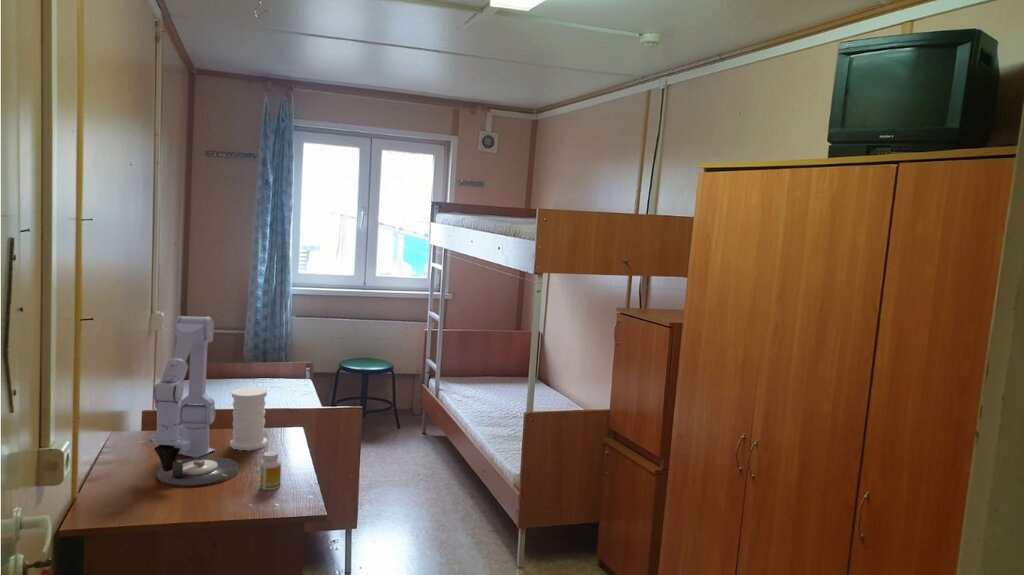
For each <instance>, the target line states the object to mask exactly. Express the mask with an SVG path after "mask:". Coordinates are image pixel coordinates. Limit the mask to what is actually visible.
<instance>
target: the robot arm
mask: <svg viewBox="0 0 1024 575" xmlns="http://www.w3.org/2000/svg"><path fill="white" fill-rule="evenodd" d="M214 328H215V323H214V320H213V319H212V317H211V316H189V315H188V316H186V315H179V316H177V318H176V320H175V323H174V331H175V332H174V333H175V336H176V338H177V341H176V345H175V348H174V353H173V356H172V358H171V359H169V360H168V361H167V362H166V365H165V368H164V370H163V373H162V376H161V379H160V382H158V383H156V384H155V385H154V388H153V393H152V399H153V402H154V407H155V409H156V434H155V433H151V434H148V435H147V438H146V439H147V440H146V441H147V443H153V445H156V446H155V447H154V451H155V452H156V454H157V456H158V458H159V460H160V463H161V468H162V467H163V470H164V471H170V470H173V461H174V460H177V457H178V455H182V456H187V457H189V458H194V457H203V456H205V455H207V454H211V453H213V452H215V451H216V449H215V448H212V447H210V425H212V423H214V421H215V418H216V407H215V399H213V397H210V396H209V395H208V394H206V385H207V384H206V383H207V364H208V363H207V362H208V346H209V343H212V342H213V341H214V333H215V332H214V330H215V329H214ZM189 355H190V356H189ZM188 358H189V365H188V363H187V361H188V360H187V359H188ZM188 368H189V375H188V376H189V378H188V395H187V396H185V397H183V395H184V388H185V387H184V386H185V384H184V380H185V378H186V374H187V371H188ZM214 450H215V451H214ZM212 451H213V452H212ZM210 452H211V453H210Z"/></svg>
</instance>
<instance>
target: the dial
mask: <svg viewBox="0 0 1024 575" xmlns="http://www.w3.org/2000/svg"><path fill="white" fill-rule="evenodd" d="M217 465H218V464H217V462H215V461H212V460H195V461H190V462H187V463H184V464H183V459H175V460H174V461H173V477H181V476H183V474H186V475H202V474H207V473H211V472H213V471H215V470H216V469H217Z"/></svg>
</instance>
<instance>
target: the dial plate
mask: <svg viewBox="0 0 1024 575" xmlns="http://www.w3.org/2000/svg"><path fill="white" fill-rule="evenodd" d="M182 460H183V464H184V463H187V462H190V461H195V460H212V461H215V462H217V464H218V465H217V469H216V470H215V471H213V472H211V473H207V474H202V475H186V474H183V476H181V477H173V470H170V471H164V470H163V467H162V466H161V468H158V470H157V473H156V478H157V480H158V482H160V483H161V484H164V485H166V484H167V485H168V486H171V485H173V486H172V487H178V486H183V487H182V488H191V487H192V488H194V486H196V487H204V486H203V485H205V486H209V485H208V484H211V485H214V484H213V483H215V484H217V483H216V482H219V483H221V482H220V481H222V482H224V481H223V480H225V481H227V480H226V479H227V478H229V477H231V476H233V475H235V474H236V473H237V472H238V471H239V472H240V464H239V462H237V461H236V460H235V459H231V458H228V457H222V456H199V457H189V458H184V459H183V458H182ZM239 472H238V473H239ZM238 473H237V474H238ZM237 474H236V475H237ZM236 475H235V476H236Z"/></svg>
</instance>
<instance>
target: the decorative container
mask: <svg viewBox="0 0 1024 575" xmlns="http://www.w3.org/2000/svg"><path fill="white" fill-rule="evenodd" d="M267 394H268V393H267V389H265V388H262V387H242V388H238V389H234V390H232V391H231V398H233V402H232V407H233V411H232V417H233V420H232V427H233V430H232V436H233V437H232V439H231V440H230V441H229V447H230V448H231V447H232V448H233V449H232V448H231V449H232V450H235V449H238V450H237V451H242V450H247V451H255V450H256V451H257V450H260V449H263V448H265V447H266V446H268V439H267V437H265V434H266V429H265V424H266V419H265V415H266V409H265V406H266V400H265V398H266V397H267Z"/></svg>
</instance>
